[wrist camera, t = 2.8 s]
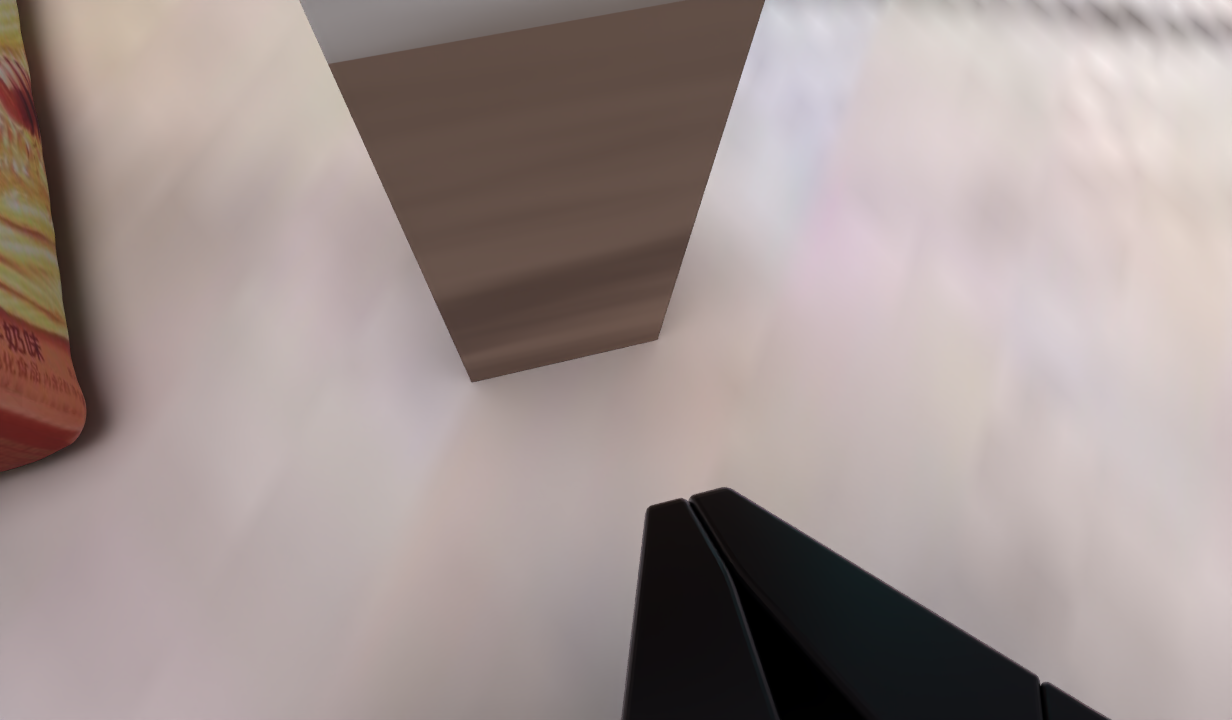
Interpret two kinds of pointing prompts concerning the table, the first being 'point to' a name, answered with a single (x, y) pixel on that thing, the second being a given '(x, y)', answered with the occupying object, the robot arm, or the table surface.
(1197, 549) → the table surface
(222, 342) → the table surface
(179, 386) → the table surface
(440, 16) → the walnut block
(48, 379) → the snack package
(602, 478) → the table surface
